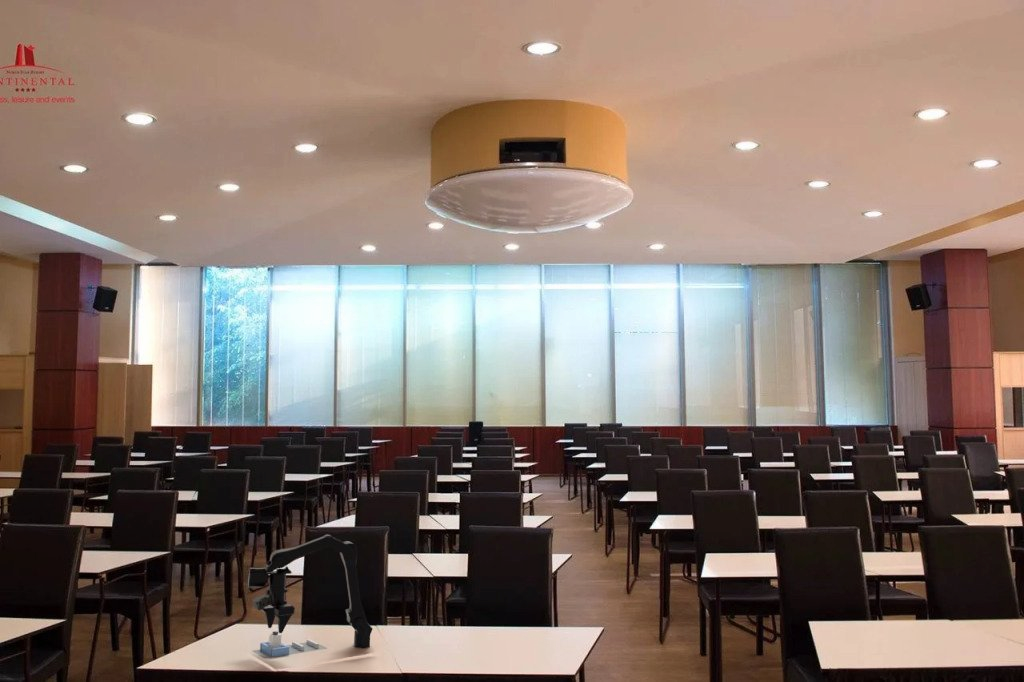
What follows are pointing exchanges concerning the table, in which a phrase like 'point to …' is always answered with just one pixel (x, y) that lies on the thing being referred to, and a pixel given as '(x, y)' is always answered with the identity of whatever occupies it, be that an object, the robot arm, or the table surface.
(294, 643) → the board
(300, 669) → the table surface
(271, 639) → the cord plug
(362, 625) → the robot arm
